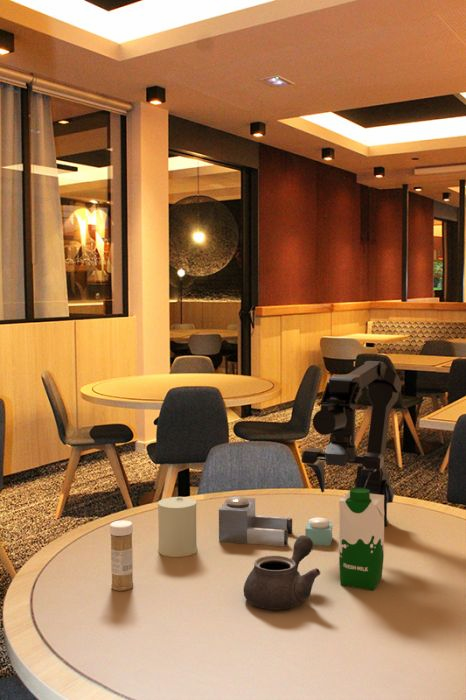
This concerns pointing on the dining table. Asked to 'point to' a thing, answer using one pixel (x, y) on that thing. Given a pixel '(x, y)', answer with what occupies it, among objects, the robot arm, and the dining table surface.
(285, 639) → the dining table surface
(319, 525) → the teal cube with ball
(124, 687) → the dining table surface
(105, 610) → the dining table surface
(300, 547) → the teapot
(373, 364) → the robot arm
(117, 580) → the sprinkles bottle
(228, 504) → the motor mount
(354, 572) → the milk carton
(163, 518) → the can
